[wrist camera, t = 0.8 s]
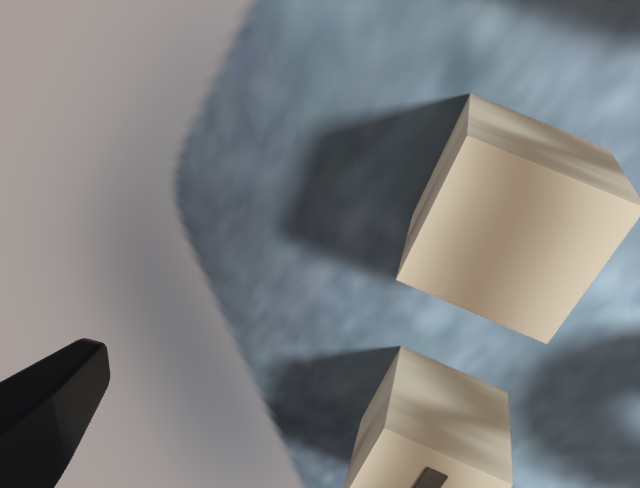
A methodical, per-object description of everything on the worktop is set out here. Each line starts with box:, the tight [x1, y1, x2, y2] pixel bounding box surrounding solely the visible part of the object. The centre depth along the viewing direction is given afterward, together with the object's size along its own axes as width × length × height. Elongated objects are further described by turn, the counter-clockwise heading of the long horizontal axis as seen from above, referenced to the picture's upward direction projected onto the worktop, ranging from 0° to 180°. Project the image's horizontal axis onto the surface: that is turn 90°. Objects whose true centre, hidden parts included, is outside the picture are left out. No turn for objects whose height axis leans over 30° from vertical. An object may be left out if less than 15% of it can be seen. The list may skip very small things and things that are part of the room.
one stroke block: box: [344, 346, 513, 488], centre depth 24 cm, size 5×5×5 cm
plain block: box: [396, 94, 640, 344], centre depth 18 cm, size 5×5×5 cm
